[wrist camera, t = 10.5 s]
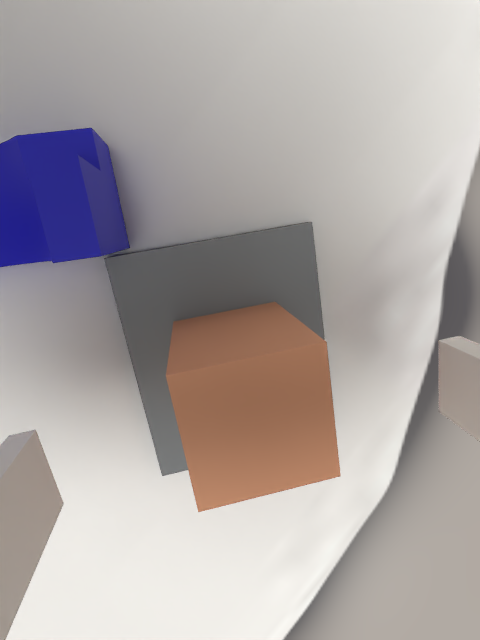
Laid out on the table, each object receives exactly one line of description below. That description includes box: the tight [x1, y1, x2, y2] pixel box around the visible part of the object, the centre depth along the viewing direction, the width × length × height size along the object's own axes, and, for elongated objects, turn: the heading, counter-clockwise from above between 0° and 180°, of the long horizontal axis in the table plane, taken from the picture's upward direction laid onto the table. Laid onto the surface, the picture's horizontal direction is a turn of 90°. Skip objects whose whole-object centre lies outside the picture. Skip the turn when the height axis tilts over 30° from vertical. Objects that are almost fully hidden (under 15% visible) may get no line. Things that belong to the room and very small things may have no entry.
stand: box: [104, 222, 325, 476], centre depth 16 cm, size 12×10×6 cm
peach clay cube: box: [166, 302, 340, 512], centre depth 15 cm, size 5×5×7 cm
